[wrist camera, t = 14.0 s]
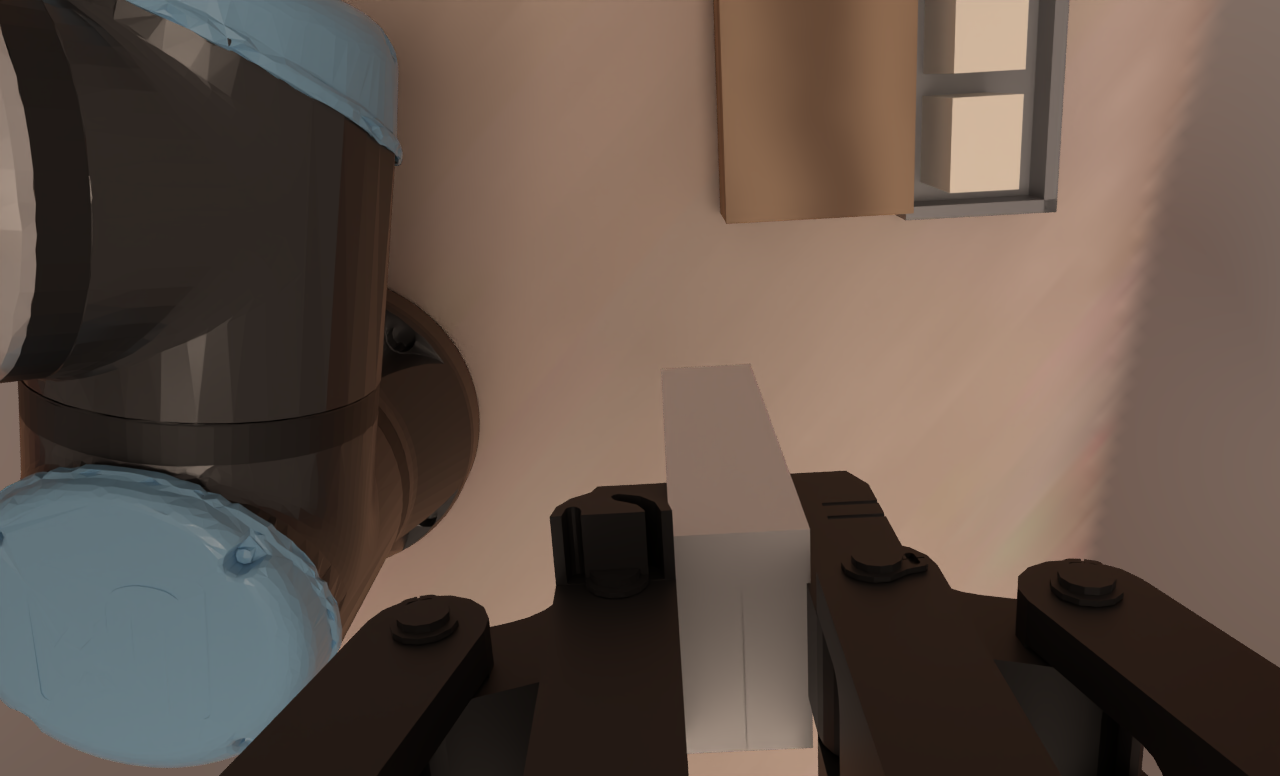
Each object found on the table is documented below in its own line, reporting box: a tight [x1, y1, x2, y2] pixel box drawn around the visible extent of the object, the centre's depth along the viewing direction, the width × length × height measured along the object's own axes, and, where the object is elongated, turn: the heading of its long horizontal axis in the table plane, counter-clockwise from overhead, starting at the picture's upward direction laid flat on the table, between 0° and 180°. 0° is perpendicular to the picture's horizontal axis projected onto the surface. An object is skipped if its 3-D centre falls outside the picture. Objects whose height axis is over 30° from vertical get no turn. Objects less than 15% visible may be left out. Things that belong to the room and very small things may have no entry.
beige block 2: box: [920, 92, 1024, 193], centre depth 46 cm, size 5×4×3 cm
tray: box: [895, 0, 1069, 220], centre depth 47 cm, size 7×12×3 cm, turn 3°
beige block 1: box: [923, 0, 1029, 74], centre depth 45 cm, size 5×4×3 cm
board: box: [713, 0, 918, 224], centre depth 47 cm, size 8×11×4 cm
